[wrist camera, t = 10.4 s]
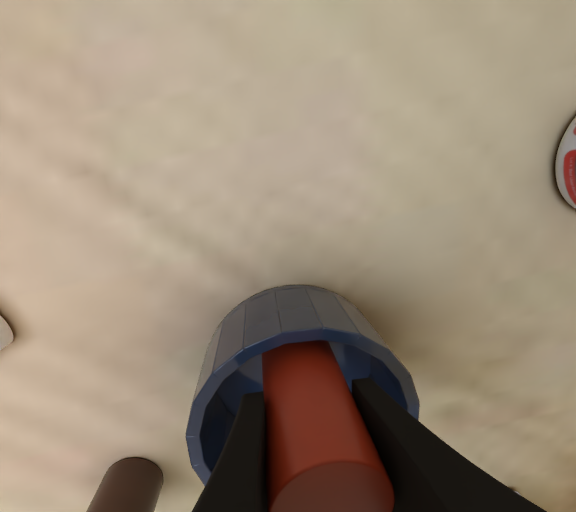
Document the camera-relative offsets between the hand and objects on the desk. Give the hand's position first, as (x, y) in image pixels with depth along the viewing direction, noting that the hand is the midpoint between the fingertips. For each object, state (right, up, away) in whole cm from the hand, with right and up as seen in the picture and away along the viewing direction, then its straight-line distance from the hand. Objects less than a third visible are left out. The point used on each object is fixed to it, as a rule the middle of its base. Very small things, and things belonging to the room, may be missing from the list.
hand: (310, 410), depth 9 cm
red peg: (-1, +1, +4) cm, 4 cm away
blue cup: (0, -1, +5) cm, 5 cm away
